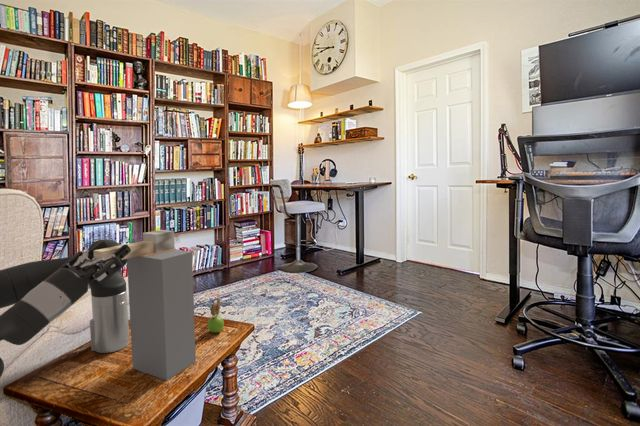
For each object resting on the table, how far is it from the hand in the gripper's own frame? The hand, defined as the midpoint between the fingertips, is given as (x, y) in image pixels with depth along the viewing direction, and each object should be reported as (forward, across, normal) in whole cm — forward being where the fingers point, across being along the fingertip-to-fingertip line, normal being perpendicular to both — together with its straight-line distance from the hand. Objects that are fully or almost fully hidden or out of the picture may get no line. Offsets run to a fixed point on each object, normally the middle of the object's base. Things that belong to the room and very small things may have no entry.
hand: (116, 245), depth 84 cm
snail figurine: (+11, -1, +48) cm, 49 cm away
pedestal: (-9, -2, +36) cm, 37 cm away
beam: (+3, 0, +6) cm, 6 cm away
